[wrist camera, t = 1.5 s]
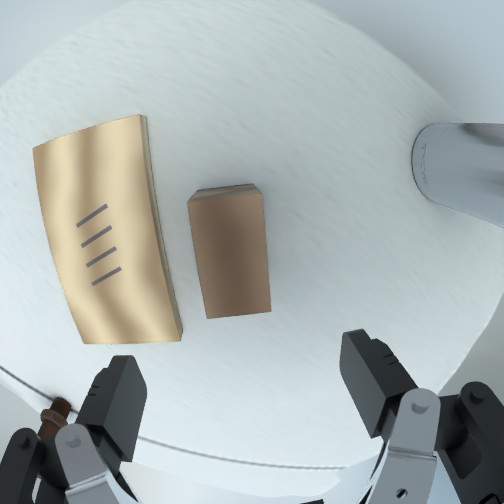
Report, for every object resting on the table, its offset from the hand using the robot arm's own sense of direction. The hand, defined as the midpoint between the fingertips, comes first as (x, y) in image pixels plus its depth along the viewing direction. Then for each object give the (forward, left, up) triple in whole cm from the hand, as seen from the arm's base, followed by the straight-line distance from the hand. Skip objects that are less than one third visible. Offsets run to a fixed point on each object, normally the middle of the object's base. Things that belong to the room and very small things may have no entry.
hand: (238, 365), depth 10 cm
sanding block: (0, 0, -18) cm, 18 cm away
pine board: (+12, -1, -18) cm, 22 cm away
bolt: (+31, +24, -18) cm, 43 cm away
